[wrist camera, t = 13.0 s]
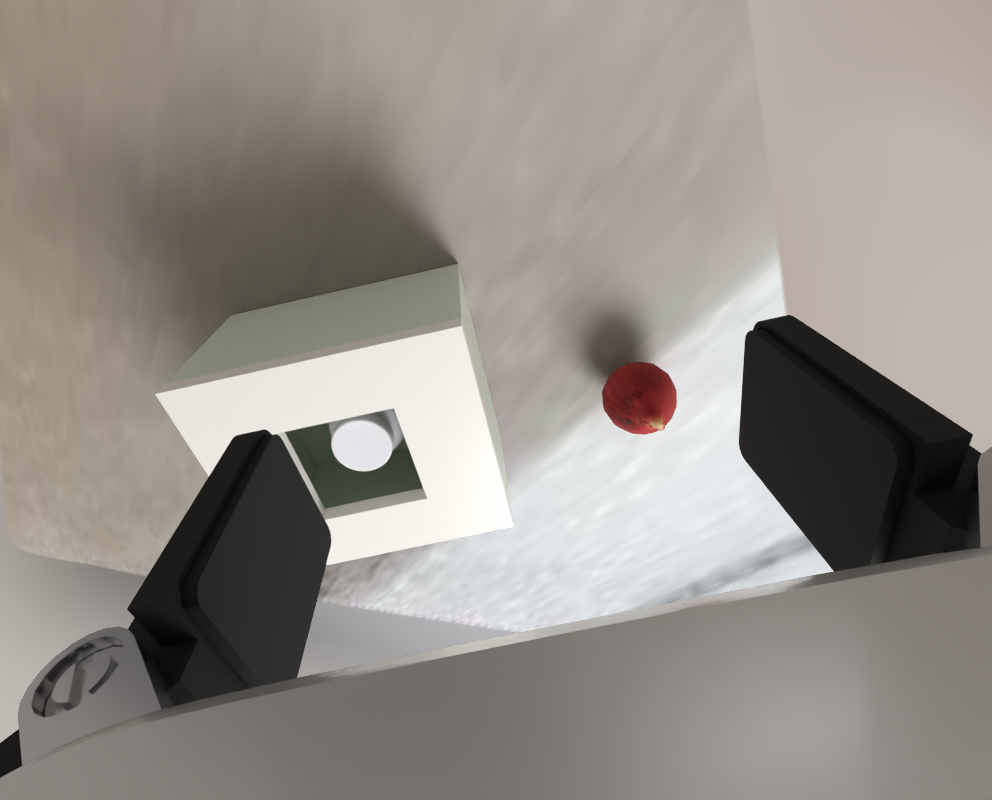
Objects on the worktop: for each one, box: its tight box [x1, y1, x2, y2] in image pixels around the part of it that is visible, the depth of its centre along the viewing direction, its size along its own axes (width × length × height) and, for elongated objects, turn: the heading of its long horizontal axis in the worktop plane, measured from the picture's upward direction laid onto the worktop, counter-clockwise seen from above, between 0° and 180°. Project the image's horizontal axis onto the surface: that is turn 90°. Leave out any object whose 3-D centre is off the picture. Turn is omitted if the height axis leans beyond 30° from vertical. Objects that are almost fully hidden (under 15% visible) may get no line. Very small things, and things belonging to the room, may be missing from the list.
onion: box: [602, 362, 677, 434], centre depth 42 cm, size 6×6×8 cm
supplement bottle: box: [329, 408, 404, 471], centre depth 38 cm, size 5×5×10 cm
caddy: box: [155, 264, 514, 565], centre depth 38 cm, size 16×18×12 cm
